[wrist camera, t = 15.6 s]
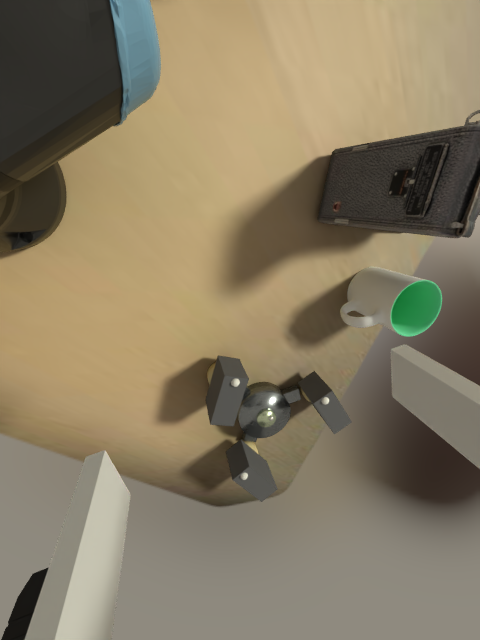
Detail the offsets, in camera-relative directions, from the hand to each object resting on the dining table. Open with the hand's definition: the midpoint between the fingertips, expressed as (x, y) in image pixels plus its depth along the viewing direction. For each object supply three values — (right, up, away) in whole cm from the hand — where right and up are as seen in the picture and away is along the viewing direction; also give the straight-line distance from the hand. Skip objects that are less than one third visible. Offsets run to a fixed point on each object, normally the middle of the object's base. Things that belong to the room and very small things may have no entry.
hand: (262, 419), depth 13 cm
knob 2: (+12, -8, +40) cm, 43 cm away
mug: (+19, +9, +36) cm, 42 cm away
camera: (+18, +23, +31) cm, 43 cm away
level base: (+2, -12, +39) cm, 41 cm away
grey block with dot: (-4, -4, +35) cm, 36 cm away
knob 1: (0, -20, +42) cm, 46 cm away
